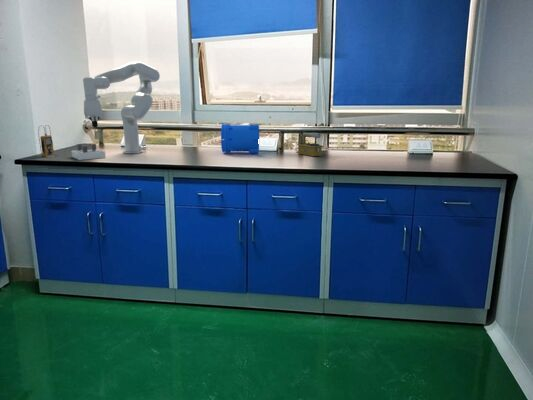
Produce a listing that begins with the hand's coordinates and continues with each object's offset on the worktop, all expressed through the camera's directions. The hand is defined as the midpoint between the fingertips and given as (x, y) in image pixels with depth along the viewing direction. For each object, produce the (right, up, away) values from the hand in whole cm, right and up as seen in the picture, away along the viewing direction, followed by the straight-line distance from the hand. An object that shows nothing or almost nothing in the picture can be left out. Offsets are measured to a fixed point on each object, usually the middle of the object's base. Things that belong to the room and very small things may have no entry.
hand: (95, 127), depth 282 cm
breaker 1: (-11, -14, +2) cm, 18 cm away
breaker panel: (-5, -19, +1) cm, 19 cm away
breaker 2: (-4, -16, -7) cm, 18 cm away
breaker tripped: (-2, -14, +2) cm, 14 cm away
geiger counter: (+136, -15, +19) cm, 138 cm away
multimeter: (-29, -18, +5) cm, 34 cm away
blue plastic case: (+91, -13, +27) cm, 96 cm away
